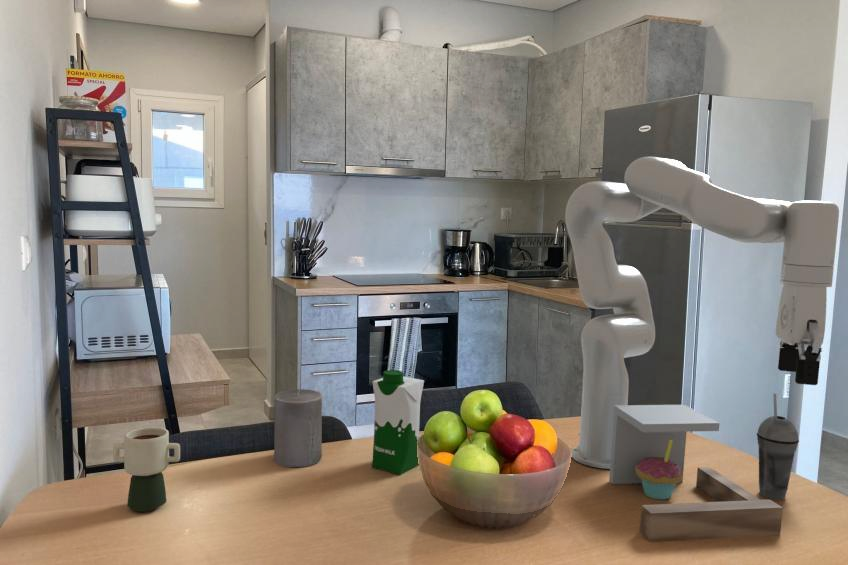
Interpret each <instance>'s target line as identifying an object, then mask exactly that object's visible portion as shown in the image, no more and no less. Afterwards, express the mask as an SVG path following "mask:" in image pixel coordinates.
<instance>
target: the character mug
mask: <svg viewBox="0 0 848 565" xmlns="http://www.w3.org/2000/svg"><path fill="white" fill-rule="evenodd" d="M123 440H124V441H123V442H121V443H120V442H119V443H114V444H113V447H112V448H113V449H112V450H113V451H112V452H113V453H112V454H113V456H112V457H113V462H115V463H124V464H123V465H124V470H125V472H126V474H128V475H131V477H130V482H129V490H128V495H127V496H128V497H127V505H126V506H127V507H128V508H129V509H130V510H132V511H136V512H148V511H151V510H155V509H157V508H160V507H161V506H163V505H165V503H167V491H166V483H165V477H164V474H163V472H164V471H165V470H167V468H168V466H169V464H170V463H177V462H179V461H180V460H181V444H180V443H177V442H170V441H169V440H170V433H169V430H168V429H166V428H164V427H158V426H147V427H141V428H135V429H131V430H129V431H127V432H126V433H124V439H123ZM172 449H173V454H174V455H173V456H170V450H172ZM120 450H123V452H124V454H123V456H120Z"/></svg>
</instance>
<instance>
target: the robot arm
mask: <svg viewBox="0 0 848 565" xmlns="http://www.w3.org/2000/svg"><path fill="white" fill-rule="evenodd" d="M623 177H624V179H623V180H624V182H623V183H622V182H613V181H603V180H602V181H601V180H600V181H599V180H598V181H597V180H596V181H590V182H586V183H584V184H580V186H578V187H577V188H576V189H575V190H574V191H573V192H572V193H571V195H570V197H569V198H568V201H567V203H566V208H565V214H564V215H565V216H564V217H565V225H566V229H567V234H568V236H569V239H570V243H571V247H572V253H573V258H574V265H575V270H576V276H577V281H578V282H577V283H578V289H579V292H580V293H579V294H580V297H581V300H582V302H583V303H584V305H585V306H586V307H588V308H590V309H593V310H594V309H595V310H605V309H606V310H607V309H612V310H613V314H611V313H610V314H603V315H602V314H601V315H599V316H595V317H593V318H592V319H590V320H589V321H588V322H586V323H585V324H584V327H583V328H582V329H581V335H580V343H581V344H580V345H581V352H582V353H581V354H582V362H583V364H582V365H583V366H582V367H583V369H582V370H583V374H582V392H581V393H582V395H581V407H580V408H581V409H580V410H581V411H580V423H579V424H580V425H579V433H578V436H579V443H578V445H576V446H574V447H573V448H572V449H571V451H572V456H571V458H572V459H573V460H575V461H576V462H577V463H579V464H582V465H585V466H588V467H592V468H596V469H604V470H610V463H611V448H612V433H613V418H614V405H629V404H628V402H629V399H628V398H629V388H630V387H629V386H630V384H629V382H630V381H629V373H628V370H627V367H626V363H625V359H626V358H631V357H636V356H642V355H644V354H646V353H648V352H650V350H651V349H652V348H653V346H654V344H655V340H656V327H655V321H654V316H653V315H654V314H653V310H652V304H651V298H650V293H649V289H648V284H647V282H646V280H645V277H644V276H643V274H642V273H641V272H640V271H639V270H638V269H637V268H635V267H634V266H631V265H628V264H627V265H626V264H618V263H617V260H616V257H615V251H614V246H613V242H612V239H611V237H610V236H609V233H608V232H607V231H606V229H605V228H604V226H603V223H604V222H606V223H609V222H610V223H631V222H636V221H638V220H641V219H642V218H645V217H647V216H648V215H650V214H653V213H656V212H658V211H659V210H661V209H663V208H664V209H667V210H669V211H671V212H675V213H677V214H678V215H681V216H683V217H686V218H687V220H689V221H691V222H692V223H694V224H695V225H697V226H699V227H701V228H703V229H705V230H708V231H709V232H712V233H715V234H717V235H720V236H722V237H725V238H727V239H731V240H733V241H737V242H740V243H748V244H749V243H753V244H754V243H761V244H777V243H778V244H779V243H783V248H782V249H783V250H782V260H781V262H782V263H781V272H780V281H779V282H780V284H783V286H782V289H781V294H780V298H779V305H778V313H777V318H776V319H777V320H776V326H775V335H776V337H777V338H778V339H779V340H780V343H779V351H778V352H779V353H778V363H777V365H778V366H777V368H778V371H781V372H793V373H795V377H794V382H795V383H796V384H797V385H809V386H817V385H818V383H819V374H820V364H821V363H820V362H821V359H822V358H821V357H822V355H821V353H822V352H823V348H822V346H823V343H824V339H825V331H826V320H827V301H828V299H827V293H828V292H827V288H832V287H833V279H834V278H833V277H834V270H835V269H834V266H835V259H836V258H835V257H836V246H837V239H838V238H837V237H838V229H839V217H840V209H839V206H838V205H837V204H836V203H834V202H831V201H823V200H799V201H797V200H796V201H794V202H790V201H785V200H777V199H769V198H758V197H756V198H755V197H749V196H745V195H743V194H739V193H736V192H733V191H730V190H726V189H724V188H722V187H718V186H716V185H714V183H713V180H712V178H711V177H710V176H709V175H708V174H705V173H704V172H701V171H697V170H694V169H691V168H689V167H687V166H686V165H685V164H683V163H682V162H681V161H678V160H676V159H671V158H666V157H665V158H664V157H658V156H642V157H638V158H637V159H635V160H634V161H632V162H631V163H630V164H629V165H628V166H627V167H626V169H625V172H624V176H623ZM805 348H806V349H805Z"/></svg>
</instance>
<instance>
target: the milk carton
mask: <svg viewBox="0 0 848 565" xmlns="http://www.w3.org/2000/svg"><path fill="white" fill-rule="evenodd" d="M424 383H425V380H423V379H419V378H413V377H407V376H404V372H403V371H401V370H396V369H394V370H393V369H391V370H390V369H387V370H384V371H383V372H382V377H381V378H378V379H375V380H373V381H372V389H373V395H374V417H373V418H374V420H373V422H374V424H373V444H372V445H373V446H372V451H373V452H372V460H371V461H372V463H371V467H372V468H374V469H377V470H381V471H385V472H389V473H391V474H395V475H399V476H401V475H403V474H404V473H406V472H408V471H410V470H412V469H414V468H416V467H418V466H420V463H419V464H418V457H417V441H418V439H420V415H421V414H420V412H421V400H422V394H423V389H424Z"/></svg>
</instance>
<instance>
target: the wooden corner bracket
mask: <svg viewBox="0 0 848 565" xmlns="http://www.w3.org/2000/svg"><path fill="white" fill-rule="evenodd" d="M695 485H696V487H697V488H699V489H700V490H701V491H703V492H704V493H705V494H707V495H708V496H710V497H711V498H712V499H714V500H715V501H707V502H705V501H704V502H682V503H659V504H657V503H656V504H642V505H641V508H640V509H641V510H640V520H639V521H640V522H639V524H640V525H639V534H640V535H641V536H642V537H643V538H644V539H645V540H647V542H649V543H654V542H656V543H657V542H672V541H675V542H677V541H690V540H691V541H693V540H694V541H695V540H709V539H710V540H712V539H715V540H716V539H731V538H733V539H734V538H747V537H749V538H750V537H752V538H753V537H764V536H765V537H767V536H780V535H781V531H782V521H783V520H782V518H783V510H784V509H783V508H784V507H783V506H781V505H780V504H778V503H777V502H774V501H773V499H760V498H759V497H757V496H756V495H754V494H752V493H751V492H749V491H748V490H746V489H745V488H743V487H742V486H740V485H739V484H737V483H736V482H734V481H732V480H730V479H729V478H728V477H726V476H725V475H723V474H721V473H719V472H718V471H717V470H715V469H713V468H712V467H710V466H698V467H697V472H696V484H695Z"/></svg>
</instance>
